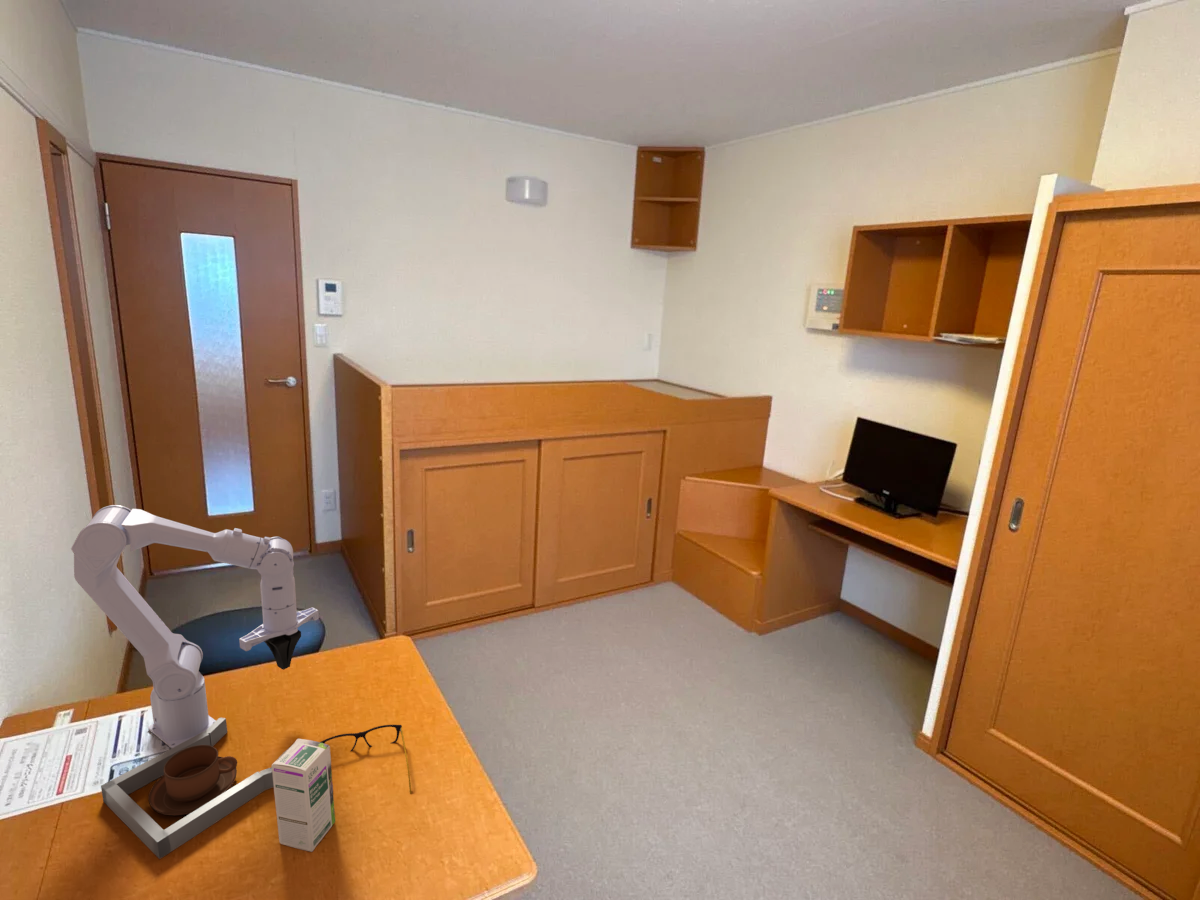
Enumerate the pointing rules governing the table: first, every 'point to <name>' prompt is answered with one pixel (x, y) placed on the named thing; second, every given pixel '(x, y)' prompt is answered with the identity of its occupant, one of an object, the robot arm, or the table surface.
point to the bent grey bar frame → (195, 821)
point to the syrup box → (304, 794)
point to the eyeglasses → (362, 734)
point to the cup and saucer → (192, 780)
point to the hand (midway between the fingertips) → (283, 666)
